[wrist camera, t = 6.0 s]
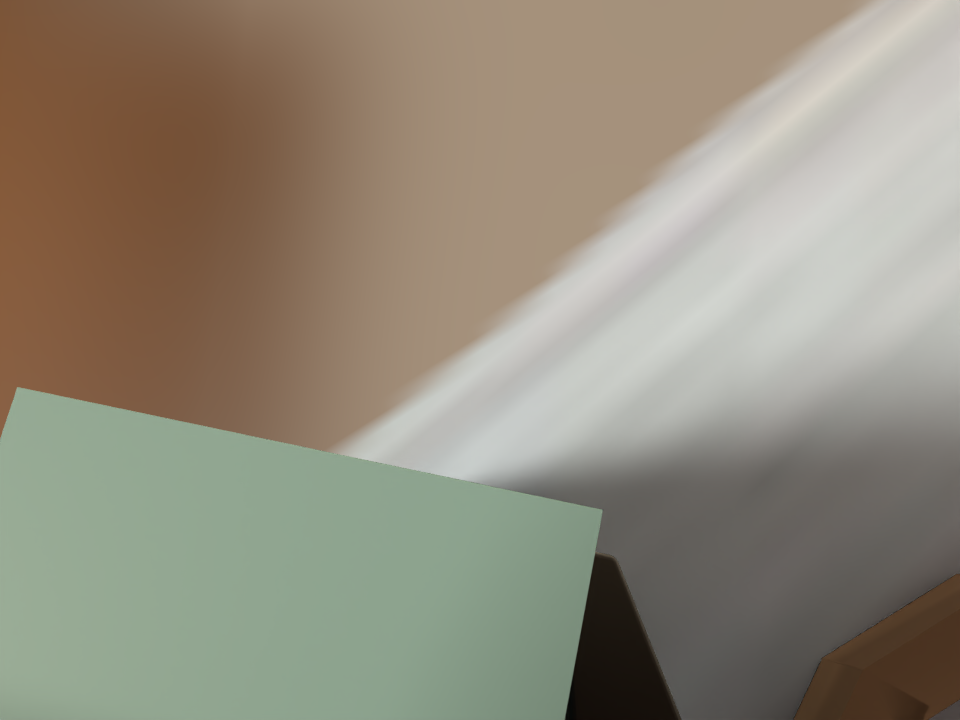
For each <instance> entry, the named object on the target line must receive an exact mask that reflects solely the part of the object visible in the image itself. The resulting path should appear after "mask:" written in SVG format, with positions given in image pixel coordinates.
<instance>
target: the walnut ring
mask: <svg viewBox="0 0 960 720" xmlns="http://www.w3.org/2000/svg"><path fill="white" fill-rule="evenodd" d="M958 700H960V574H956V575H954V576H953V577H951V578H950V579H948V580H946V581H945V582H943V583H942V584H940V585H938V586H937V587H935V588H934V589H932V590H930V591H929V592H927V593H926V594H924V595H922V596H921V597H919V598H918V599H916V600H914V601H913V602H911V603H910V604H908V605H906V606H905V607H903V608H902V609H900V610H898V611H897V612H895V613H894V614H892V615H890V616H889V617H887V618H886V619H884V620H882V621H881V622H879V623H878V624H876V625H874V626H873V627H871V628H870V629H868V630H866V631H865V632H863V633H862V634H860V635H858V636H857V637H855V638H854V639H852V640H850V641H849V642H847V643H846V644H844V645H842V646H841V647H839V648H838V649H836V650H834V651H833V652H831V653H830V654H828V655H826V656H825V657H823V658H822V660H821V662H820V665H819V667H818V669H817V671H816V673H815V675H814V677H813V679H812V681H811V684H810V686H809V688H808V690H807V692H806V694H805V696H804V698H803V701H802V703H801V705H800V707H799V709H798V711H797V713H796V715H795V717H794V720H928V719H930V718H931V717H933V716H934V715H936V714H938V713H939V712H941V711H942V710H944V709H946V708H947V707H949V706H950V705H952V704H953V703H955V702H957V701H958Z"/></svg>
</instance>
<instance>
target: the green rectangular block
mask: <svg viewBox="0 0 960 720" xmlns="http://www.w3.org/2000/svg"><path fill="white" fill-rule="evenodd" d="M602 512H603V510H602V509H597V508H592V507H587V506H583V505H578V504H573V503H568V502H564V501H559V500H554V499H549V498H544V497H540V496H535V495H530V494H525V493H521V492H516V491H511V490H506V489H501V488H497V487H492V486H487V485H482V484H478V483H473V482H468V481H463V480H459V479H454V478H449V477H444V476H439V475H435V474H430V473H425V472H420V471H416V470H411V469H406V468H401V467H396V466H392V465H387V464H382V463H377V462H373V461H368V460H363V459H358V458H353V457H349V456H344V455H339V454H334V453H330V452H325V451H320V450H315V449H311V448H305V447H300V446H296V445H291V444H287V443H282V442H277V441H272V440H268V439H263V438H257V437H253V436H248V435H243V434H239V433H234V432H229V431H225V430H220V429H215V428H210V427H205V426H200V425H196V424H191V423H186V422H181V421H177V420H172V419H167V418H162V417H158V416H153V415H148V414H143V413H138V412H134V411H129V410H124V409H120V408H115V407H110V406H105V405H100V404H96V403H91V402H86V401H81V400H77V399H72V398H67V397H62V396H57V395H52V394H48V393H43V392H38V391H34V390H29V389H24V388H19V387H18V388H17V390H16V394H15V396H14V399H13V402H12V405H11V408H10V411H9V414H8V418H7V420H6V423H5V426H4V429H3V432H2V436H1V438H0V720H565V715H566V709H567V704H568V698H569V693H570V687H571V682H572V677H573V671H574V666H575V660H576V655H577V649H578V644H579V638H580V633H581V627H582V622H583V616H584V611H585V605H586V600H587V594H588V589H589V584H590V578H591V573H592V567H593V562H594V556H595V551H596V545H597V540H598V534H599V529H600V523H601V518H602Z"/></svg>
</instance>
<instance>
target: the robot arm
mask: <svg viewBox="0 0 960 720" xmlns="http://www.w3.org/2000/svg"><path fill="white" fill-rule="evenodd" d="M565 720H682V719H681V717H680V714H679V712H678V709H677V707H676V705H675V702H674V700H673V697H672V695H671V692H670V690H669V687H668V685H667V682H666V680H665V677H664V675H663V672H662V670H661V667H660V665H659V662H658V660H657V657H656V655H655V652H654V650H653V647H652V645H651V643H650V640H649V638H648V635H647V633H646V630H645V628H644V625H643V623H642V620H641V618H640V615H639V613H638V610H637V608H636V605H635V603H634V600H633V598H632V595H631V593H630V590H629V588H628V585H627V583H626V581H625V578H624V576H623V573H622V571H621V568H620V566H619V563H618V561H617V560H616V558H614V557H613V556H611V555H608V554H603V553H599V552H595V556H594V562H593V567H592V573H591V578H590V584H589V589H588V594H587V600H586V605H585V611H584V616H583V622H582V627H581V633H580V638H579V644H578V649H577V655H576V660H575V666H574V671H573V677H572V682H571V687H570V693H569V698H568V704H567V709H566V715H565Z"/></svg>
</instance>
